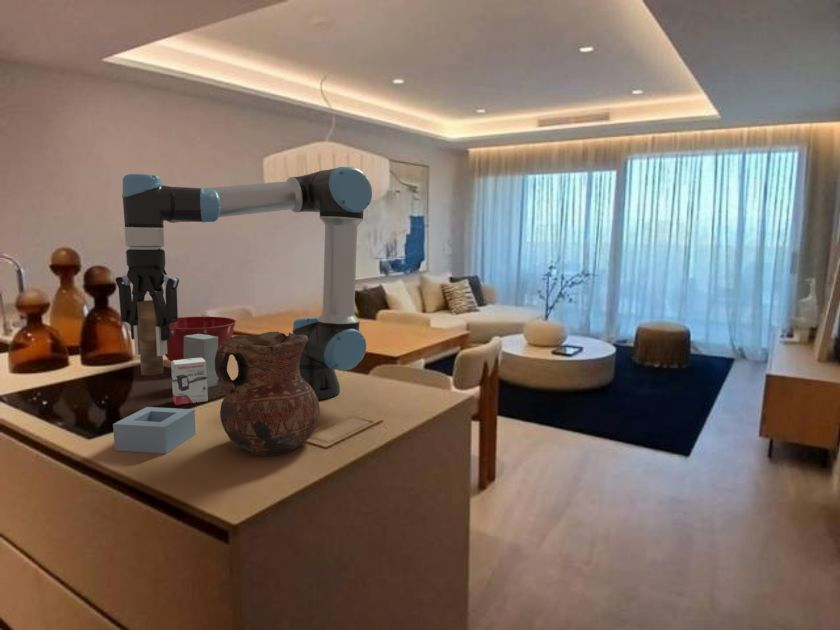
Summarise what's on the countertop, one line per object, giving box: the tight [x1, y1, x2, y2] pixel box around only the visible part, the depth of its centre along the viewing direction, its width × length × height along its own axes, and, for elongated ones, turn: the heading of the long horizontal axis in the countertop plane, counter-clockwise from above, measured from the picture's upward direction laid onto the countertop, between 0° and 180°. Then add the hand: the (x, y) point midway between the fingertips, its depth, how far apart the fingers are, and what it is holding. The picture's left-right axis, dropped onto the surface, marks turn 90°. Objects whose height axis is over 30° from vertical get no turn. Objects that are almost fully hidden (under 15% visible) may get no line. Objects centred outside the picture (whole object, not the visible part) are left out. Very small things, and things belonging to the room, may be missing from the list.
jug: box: [215, 331, 321, 457], centre depth 121 cm, size 22×21×25 cm
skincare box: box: [183, 334, 218, 389], centre depth 169 cm, size 8×7×16 cm
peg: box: [137, 299, 165, 376], centre depth 120 cm, size 4×4×16 cm
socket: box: [112, 406, 197, 455], centre depth 124 cm, size 12×12×6 cm
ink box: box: [170, 358, 209, 406], centre depth 153 cm, size 8×5×12 cm, turn 123°
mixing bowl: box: [164, 316, 237, 362], centre depth 198 cm, size 28×28×16 cm
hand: (151, 354), depth 121 cm, fingers closed on peg, 4 cm apart
